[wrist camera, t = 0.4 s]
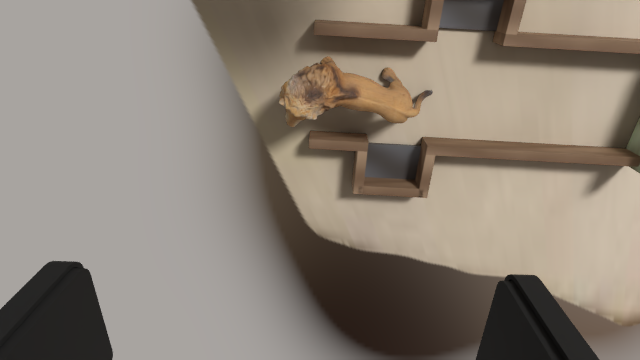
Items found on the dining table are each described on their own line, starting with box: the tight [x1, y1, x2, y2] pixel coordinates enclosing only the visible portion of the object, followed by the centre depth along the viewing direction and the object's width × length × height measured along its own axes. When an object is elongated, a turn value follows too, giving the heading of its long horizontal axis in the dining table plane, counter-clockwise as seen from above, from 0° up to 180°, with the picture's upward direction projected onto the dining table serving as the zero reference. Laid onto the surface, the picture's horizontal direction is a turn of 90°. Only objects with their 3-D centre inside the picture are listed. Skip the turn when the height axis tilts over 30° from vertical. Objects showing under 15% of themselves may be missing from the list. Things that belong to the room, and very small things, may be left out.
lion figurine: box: [279, 57, 433, 127], centre depth 36 cm, size 15×5×9 cm, turn 86°
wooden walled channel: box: [309, 0, 640, 198], centre depth 38 cm, size 22×35×5 cm, turn 87°
